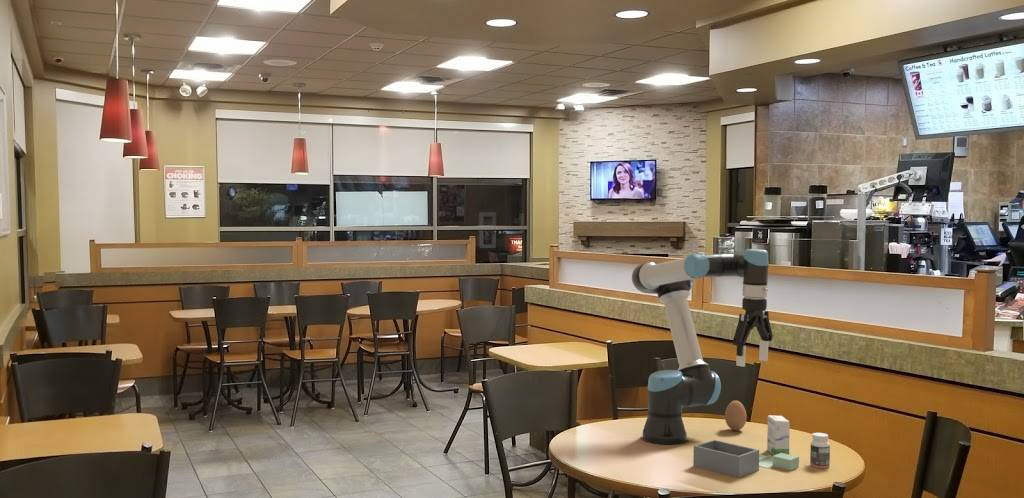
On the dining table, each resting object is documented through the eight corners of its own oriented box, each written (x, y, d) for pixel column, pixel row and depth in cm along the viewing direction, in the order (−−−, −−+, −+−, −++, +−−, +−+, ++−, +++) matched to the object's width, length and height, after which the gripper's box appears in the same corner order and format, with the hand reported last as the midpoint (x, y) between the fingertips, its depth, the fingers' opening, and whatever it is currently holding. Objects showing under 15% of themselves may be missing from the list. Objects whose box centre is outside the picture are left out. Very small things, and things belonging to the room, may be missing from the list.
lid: (720, 459, 271) (720, 447, 271) (739, 453, 279) (740, 440, 279) (784, 475, 254) (785, 462, 254) (804, 467, 262) (804, 454, 262)
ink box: (789, 457, 274) (790, 421, 273) (774, 457, 274) (775, 421, 273) (781, 450, 282) (781, 414, 282) (766, 449, 282) (767, 414, 282)
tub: (693, 468, 261) (693, 445, 261) (713, 461, 268) (714, 439, 268) (739, 480, 249) (739, 456, 249) (758, 472, 257) (759, 449, 256)
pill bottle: (807, 463, 267) (807, 432, 266) (824, 463, 267) (825, 431, 267) (815, 468, 261) (815, 436, 261) (832, 468, 262) (833, 436, 261)
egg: (742, 427, 312) (742, 398, 311) (749, 432, 304) (749, 402, 304) (722, 427, 311) (722, 398, 311) (728, 433, 304) (728, 402, 303)
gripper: (743, 301, 260) (741, 370, 261) (785, 296, 277) (782, 360, 279) (722, 299, 265) (720, 366, 267) (764, 293, 282) (762, 356, 284)
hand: (752, 363), depth 273 cm, fingers open, 13 cm apart
